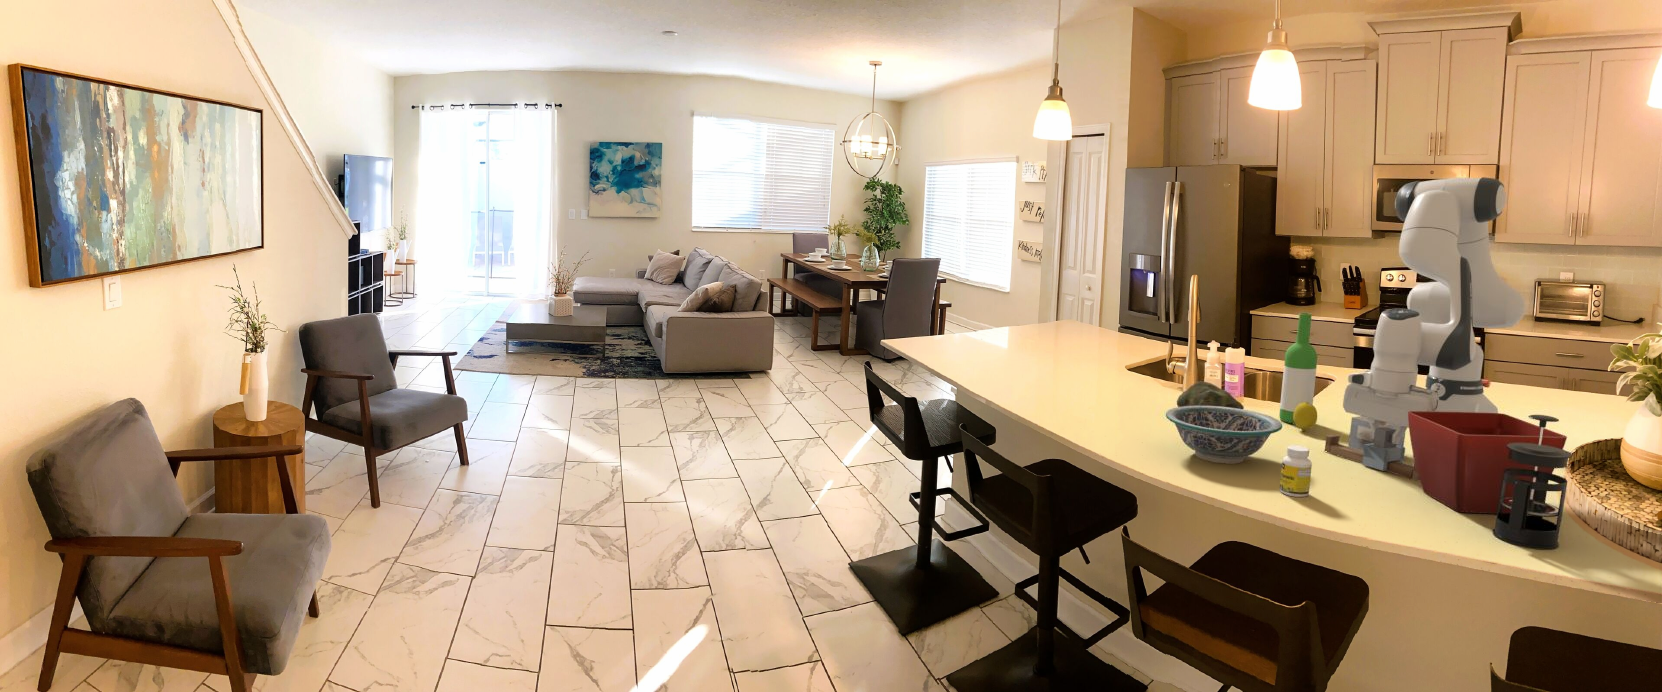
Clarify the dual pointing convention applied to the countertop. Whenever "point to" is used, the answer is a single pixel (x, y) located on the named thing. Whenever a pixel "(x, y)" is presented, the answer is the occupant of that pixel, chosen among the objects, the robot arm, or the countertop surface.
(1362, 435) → the grey cube with hole
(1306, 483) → the supplement bottle
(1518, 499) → the french press
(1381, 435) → the carriage
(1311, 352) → the wine bottle
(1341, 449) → the rail
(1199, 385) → the decorative rock
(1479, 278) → the robot arm
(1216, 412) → the bowl
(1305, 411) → the lemon
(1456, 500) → the plant pot
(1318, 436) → the countertop surface
